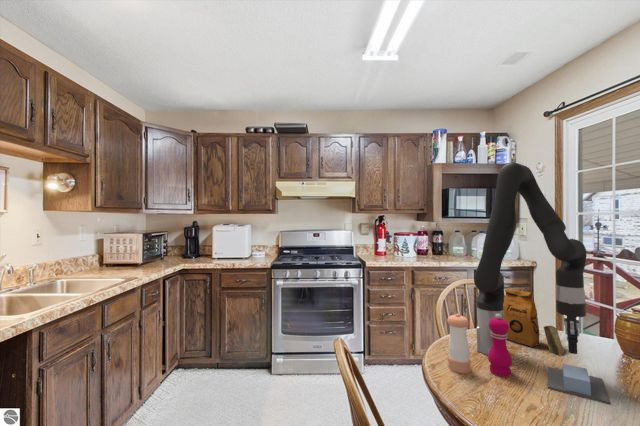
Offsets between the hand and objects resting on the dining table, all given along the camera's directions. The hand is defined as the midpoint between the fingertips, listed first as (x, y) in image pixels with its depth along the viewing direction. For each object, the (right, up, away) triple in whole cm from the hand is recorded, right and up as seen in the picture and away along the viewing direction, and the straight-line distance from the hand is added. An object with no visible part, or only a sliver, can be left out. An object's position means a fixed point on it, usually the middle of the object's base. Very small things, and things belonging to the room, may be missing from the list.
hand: (572, 352), depth 98 cm
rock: (+12, -9, +22) cm, 27 cm away
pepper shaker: (-34, -10, +8) cm, 36 cm away
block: (0, -6, -1) cm, 6 cm away
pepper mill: (-21, -9, +5) cm, 23 cm away
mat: (-2, -8, -3) cm, 9 cm away
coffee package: (+4, -10, +31) cm, 33 cm away
